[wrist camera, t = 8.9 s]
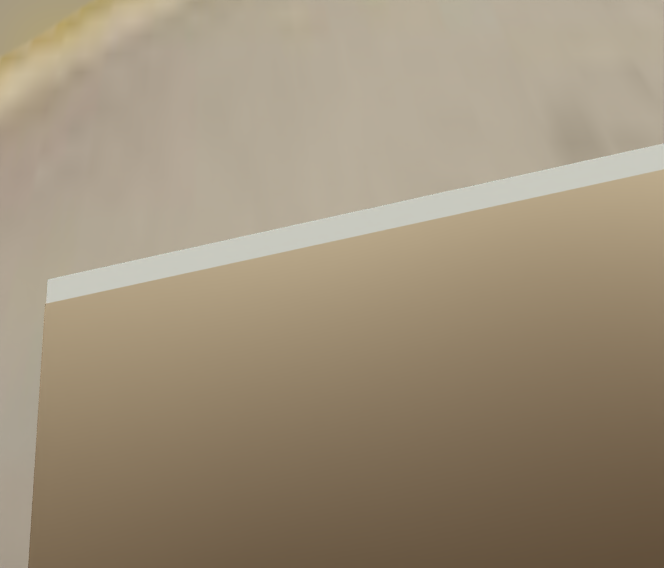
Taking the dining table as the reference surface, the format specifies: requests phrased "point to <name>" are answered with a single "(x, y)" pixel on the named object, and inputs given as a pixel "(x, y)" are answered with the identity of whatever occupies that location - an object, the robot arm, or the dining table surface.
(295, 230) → the socket block
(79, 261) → the dining table surface
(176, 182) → the dining table surface
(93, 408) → the keyed peg
